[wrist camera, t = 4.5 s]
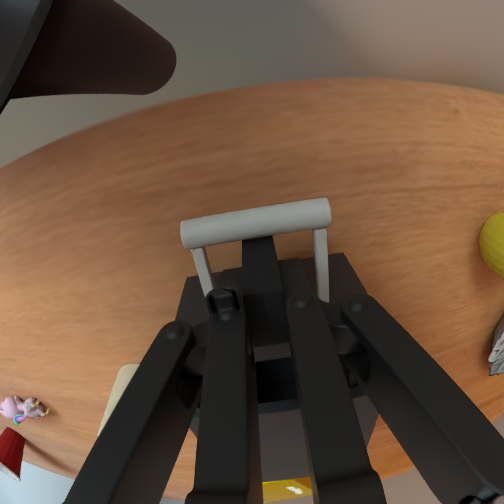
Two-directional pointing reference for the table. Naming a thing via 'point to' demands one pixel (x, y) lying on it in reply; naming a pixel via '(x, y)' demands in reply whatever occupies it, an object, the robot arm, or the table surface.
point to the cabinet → (294, 435)
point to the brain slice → (497, 351)
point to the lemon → (493, 243)
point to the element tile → (286, 489)
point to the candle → (118, 390)
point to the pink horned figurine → (21, 409)
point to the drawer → (318, 268)
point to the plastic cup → (11, 453)
